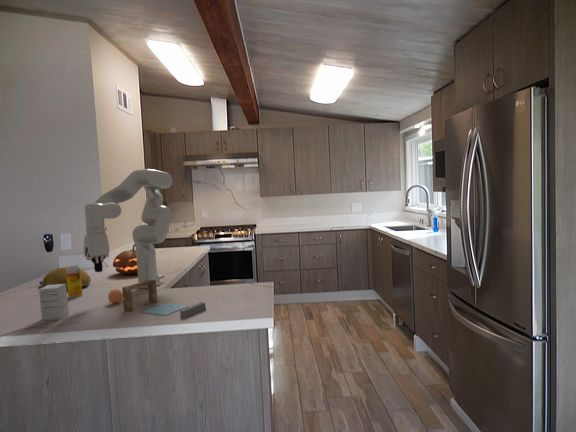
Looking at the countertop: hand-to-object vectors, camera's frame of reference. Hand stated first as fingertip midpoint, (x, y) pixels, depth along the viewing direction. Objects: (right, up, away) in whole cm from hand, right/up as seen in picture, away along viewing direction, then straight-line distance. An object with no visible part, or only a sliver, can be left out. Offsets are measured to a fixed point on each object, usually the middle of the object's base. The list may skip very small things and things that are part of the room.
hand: (98, 271), depth 184 cm
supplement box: (-8, -16, -20) cm, 27 cm away
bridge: (+23, -13, -11) cm, 29 cm away
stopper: (+48, -13, -25) cm, 56 cm away
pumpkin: (-9, -10, +67) cm, 69 cm away
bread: (-36, -14, +42) cm, 56 cm away
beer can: (-18, -14, +14) cm, 27 cm away
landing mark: (+35, -13, -18) cm, 42 cm away
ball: (+9, -11, -4) cm, 14 cm away
